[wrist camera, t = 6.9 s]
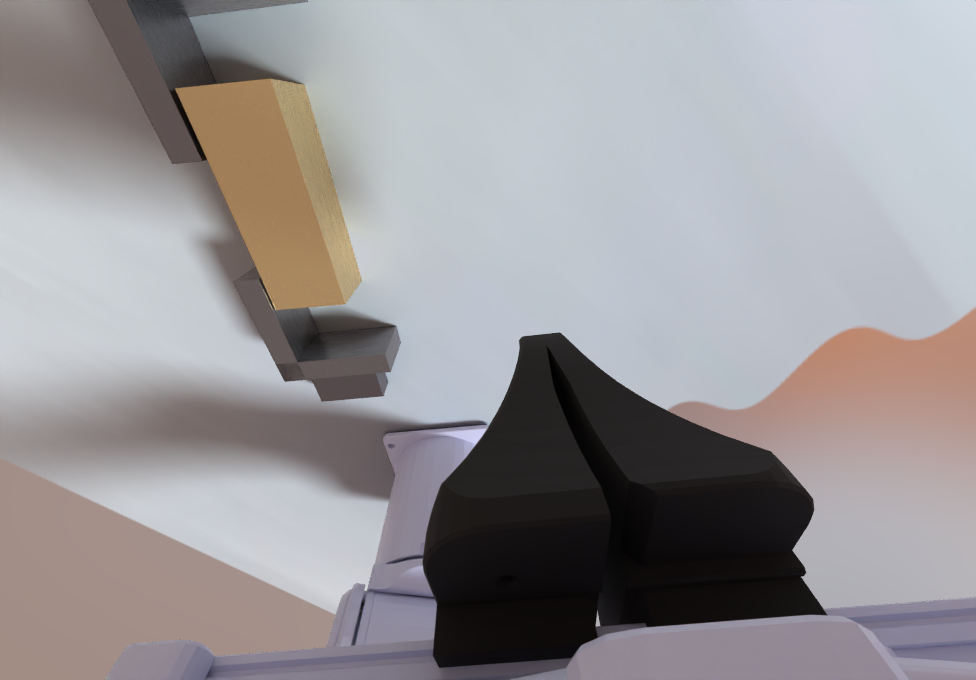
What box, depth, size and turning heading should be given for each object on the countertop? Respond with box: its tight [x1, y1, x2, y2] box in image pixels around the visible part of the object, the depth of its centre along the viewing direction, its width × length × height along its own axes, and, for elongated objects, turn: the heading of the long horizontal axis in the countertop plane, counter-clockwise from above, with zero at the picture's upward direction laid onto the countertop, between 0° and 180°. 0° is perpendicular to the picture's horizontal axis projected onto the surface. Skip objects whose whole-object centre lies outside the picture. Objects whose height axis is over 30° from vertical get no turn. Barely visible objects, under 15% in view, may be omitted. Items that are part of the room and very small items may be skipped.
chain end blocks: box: [88, 0, 401, 402], centre depth 16 cm, size 23×6×3 cm, turn 5°
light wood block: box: [175, 79, 362, 310], centre depth 16 cm, size 9×4×3 cm, turn 5°
